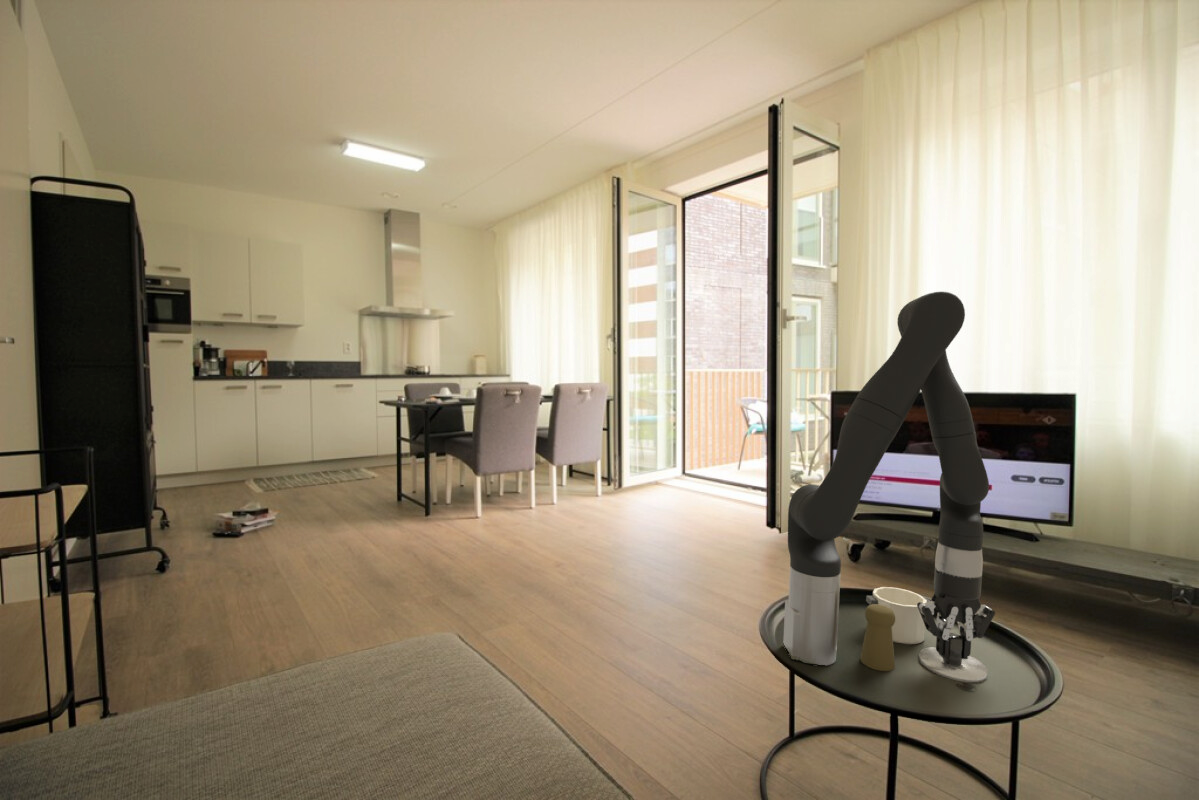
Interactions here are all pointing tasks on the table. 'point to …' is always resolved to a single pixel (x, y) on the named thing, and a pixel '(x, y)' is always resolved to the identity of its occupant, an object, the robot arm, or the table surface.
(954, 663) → the lid
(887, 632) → the cork
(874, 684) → the table surface
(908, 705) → the table surface
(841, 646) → the table surface
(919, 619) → the pot
